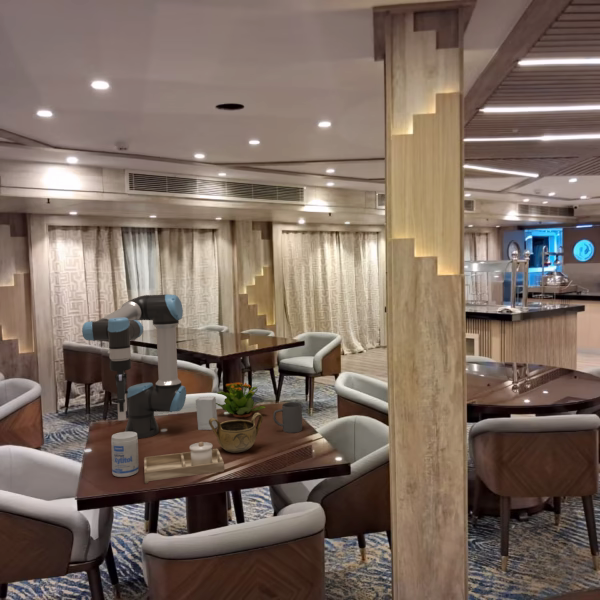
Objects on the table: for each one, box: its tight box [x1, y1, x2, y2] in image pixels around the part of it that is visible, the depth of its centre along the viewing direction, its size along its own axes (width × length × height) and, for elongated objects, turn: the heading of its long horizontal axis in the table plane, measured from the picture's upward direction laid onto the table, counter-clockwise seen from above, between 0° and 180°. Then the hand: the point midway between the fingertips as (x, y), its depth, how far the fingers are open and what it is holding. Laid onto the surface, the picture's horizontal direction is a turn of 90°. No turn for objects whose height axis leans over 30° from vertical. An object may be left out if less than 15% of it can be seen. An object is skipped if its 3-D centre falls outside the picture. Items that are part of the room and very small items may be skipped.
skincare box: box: [195, 396, 218, 431], centre depth 263 cm, size 8×6×15 cm
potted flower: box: [216, 381, 267, 419], centre depth 283 cm, size 25×24×18 cm
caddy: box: [143, 448, 225, 485], centre depth 209 cm, size 17×28×4 cm, turn 106°
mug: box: [272, 401, 303, 434], centre depth 255 cm, size 14×9×12 cm
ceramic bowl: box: [209, 411, 264, 454], centre depth 229 cm, size 22×17×15 cm
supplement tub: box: [110, 431, 140, 478], centre depth 208 cm, size 10×10×15 cm
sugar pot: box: [189, 441, 213, 466], centre depth 211 cm, size 9×9×9 cm
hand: (122, 415), depth 206 cm, fingers open, 13 cm apart
